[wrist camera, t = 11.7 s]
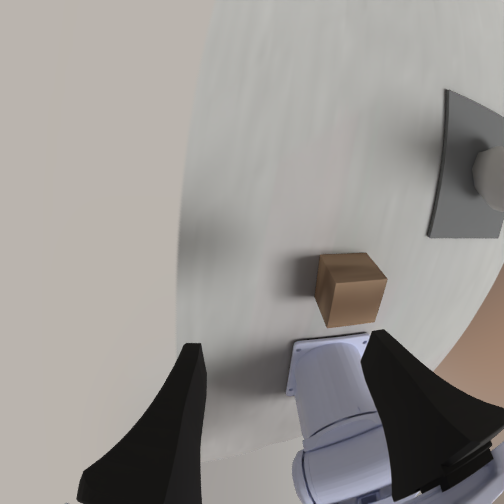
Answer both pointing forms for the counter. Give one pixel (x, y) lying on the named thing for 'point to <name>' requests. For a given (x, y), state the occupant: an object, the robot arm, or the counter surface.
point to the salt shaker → (490, 177)
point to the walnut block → (348, 289)
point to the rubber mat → (465, 171)
